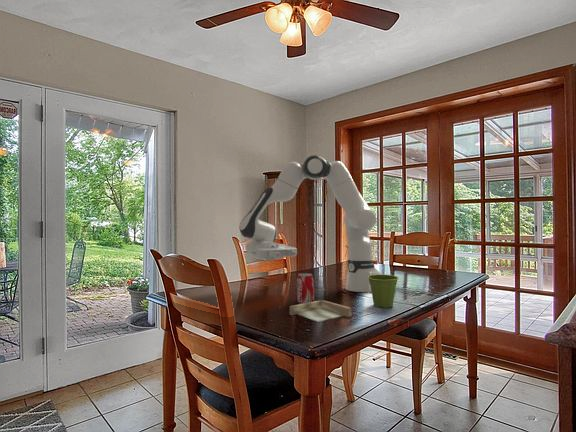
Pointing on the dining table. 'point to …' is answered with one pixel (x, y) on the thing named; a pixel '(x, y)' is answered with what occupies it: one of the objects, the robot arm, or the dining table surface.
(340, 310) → the wooden stand
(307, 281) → the soda can
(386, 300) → the plant pot
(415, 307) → the dining table surface
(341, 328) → the dining table surface
